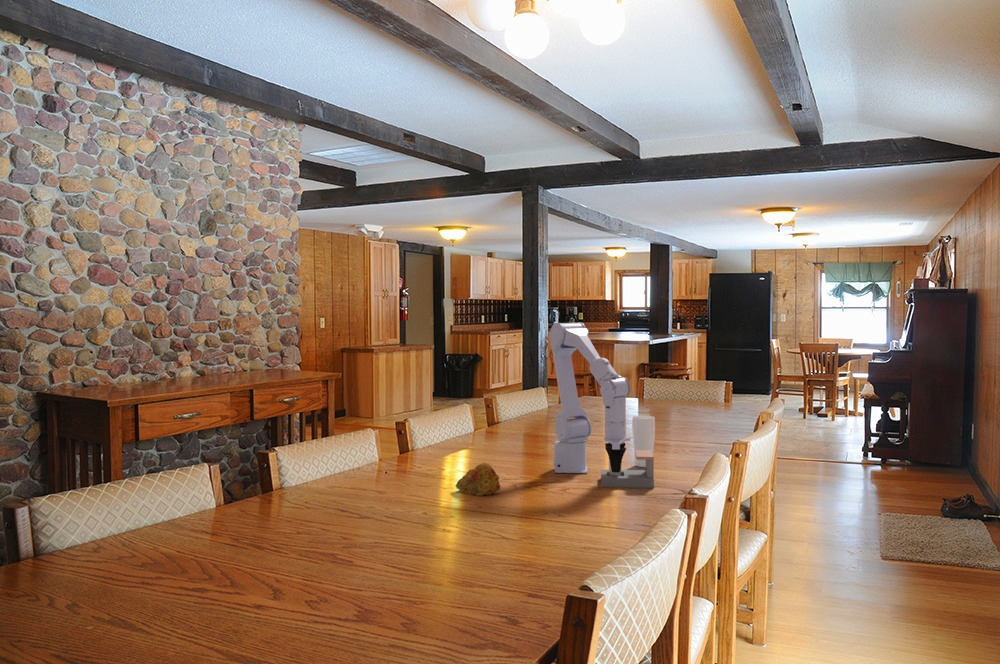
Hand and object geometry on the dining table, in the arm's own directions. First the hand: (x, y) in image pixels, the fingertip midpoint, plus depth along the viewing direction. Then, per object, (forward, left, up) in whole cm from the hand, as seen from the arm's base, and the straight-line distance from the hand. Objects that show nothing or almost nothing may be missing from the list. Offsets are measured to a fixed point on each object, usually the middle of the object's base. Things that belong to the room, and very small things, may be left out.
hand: (615, 470), depth 201 cm
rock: (-36, -13, -4) cm, 38 cm away
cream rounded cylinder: (+9, +22, -4) cm, 24 cm away
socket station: (+3, 0, -3) cm, 5 cm away
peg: (0, 0, -2) cm, 2 cm away
